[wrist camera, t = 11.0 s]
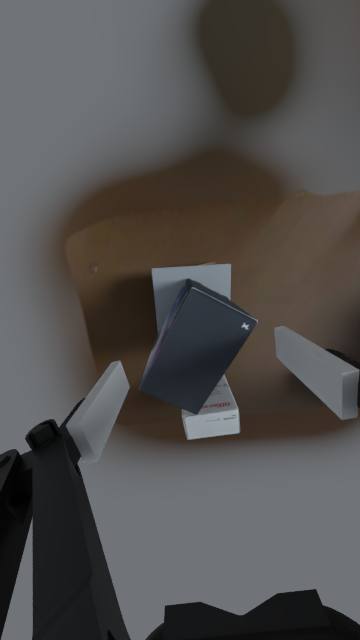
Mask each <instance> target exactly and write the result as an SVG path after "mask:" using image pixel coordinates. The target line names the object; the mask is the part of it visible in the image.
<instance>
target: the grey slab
mask: <svg viewBox="0 0 360 640" xmlns="http://www.w3.org/2000/svg"><path fill="white" fill-rule="evenodd" d="M152 277H153V288H154V298H155V309H156V319H157V330H158V333H159V331H160V329H161V327H162V325H163V323H164V321H165V319H166V317H167V315H168V313H169V311H170V309H171V308H172V306H173V304H174V302H175V300H176V298H177V296H178V294H179V292H180V290H181V289H182V287H183V285H184V284H185V282H186V280H187V279H188V278H190V279H192V280H194V281H197V282H199V283H201V284H202V285H204V286H206V287H207V288H209V289H211V290H213V291H216V292H217V293H219V294H221V295H224V296H226V297H228V299H229V300H230V286H231V264H218V265H201V266H184V267H167V268H153V269H152Z"/></svg>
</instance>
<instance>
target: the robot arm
mask: <svg viewBox="0 0 360 640" xmlns="http://www.w3.org/2000/svg"><path fill="white" fill-rule="evenodd" d="M274 332H275V342H276V352H277V358H278V359H279V360H280V361H281V362H282V363H283V364H284V365H285V366H286V367H287V368H288V369H289V370H290V371H291V372H292V373H293V374H294V375H296V376H297V377H298V378H299V379H300V380H301V381H302V382H303V383H304V384H305V385H306V386H307V387H308V388H309V389H310V390H311V391H312V392H313V393H314V394H315V395H316V396H317V397H318V398H319V399H321V400H322V401H323V402H324V403H325V404H326V405H327V406H328V407H329V408H330V409H331V410H332V411H333V412H334V413H335V414H336V415H337V416H338V417H339V418H340V419H341V420H345V419H350V418H356V417H358V407H359V408H360V363H359V362H357V361H355V360H353V359H351V358H350V357H347V356H346V355H344V354H342V353H340V352H338V351H335V350H332V349H325V350H324V349H323V348H321V347H319V346H317V345H316V344H314V343H312V342H311V341H309V340H307V339H305V338H304V337H302V336H300V335H299V334H297V333H295V332H293V331H292V330H290V329H288V328H287V327H285V326H280V327H276V328H274ZM129 388H130V386H129V383H128V381H127V378H126V375H125V372H124V369H123V367H122V364H121V361H115V362H112V363H111V364H110V365H109V367H108V368H107V369H106V371H105V372H104V374H103V375H102V376H101V378H100V379H99V380H98V382H97V383H96V385H95V386H94V387H93V389H92V390H91V391H90V393H89V394H88V395H87V397H86V398H83V399H82V400H81V401H80V402H79V403H77V405H76V406H75V407H74V409H73V411H71V413H70V414H69V416H68V417H67V418H66V419H65V421H64V422H63V423H62V424H61V426H60V427H58V426H57V424H56V422H55V420H54V419H50V420H46V421H44V422H42V423H40V424H38V425H37V426H35V427H34V428H33V429H32V430H31V431H29V433H28V434H27V435H26V438H25V439H26V441H27V443H28V444H29V446H30V448H31V449H32V450H31V451H29V452H27V453H24V454H22V455H20V454H19V452H18V451H17V450H16V449H13V450H9V451H6V452H5V453H3V454H1V455H0V640H1V636H2V632H3V628H4V624H5V621H6V617H7V613H8V609H9V605H10V601H11V598H12V593H13V590H14V586H15V582H16V578H17V574H18V570H19V567H20V563H21V558H22V555H23V551H24V547H25V543H26V540H27V535H28V532H29V528H30V524H31V520H32V516H33V637H32V640H131V639H130V637H129V635H128V632H127V629H126V627H125V624H124V621H123V618H122V614H121V611H120V607H119V604H118V600H117V597H116V593H115V590H114V587H113V583H112V579H111V576H110V572H109V569H108V566H107V562H106V559H105V555H104V552H103V548H102V545H101V541H100V538H99V534H98V531H97V527H96V524H95V520H94V517H93V513H92V510H91V506H90V503H89V500H88V496H87V493H86V489H85V486H84V482H83V478H82V475H81V472H80V468H79V466H78V464H77V463H78V461H79V459H80V457H82V459H83V461H84V463H85V464H88V463H94V462H98V460H99V458H100V456H101V453H102V451H103V449H104V446H105V444H106V442H107V439H108V437H109V435H110V432H111V430H112V428H113V425H114V423H115V421H116V418H117V416H118V414H119V411H120V409H121V407H122V404H123V402H124V400H125V397H126V395H127V393H128V390H129ZM145 640H360V625H359V624H358V623H357V622H355V621H353V620H352V619H350V618H349V617H347V616H346V615H344V614H342V613H340V612H338V611H336V610H334V609H332V608H330V607H326V606H324V605H322V603H321V600H320V598H319V595H318V593H317V591H316V589H313V590H304V591H295V592H286V593H278V594H276V595H274V596H273V597H271V598H270V599H268V600H266V601H265V602H263V603H262V604H260V605H259V606H257V607H256V608H254V609H252V610H251V611H249V612H248V613H246V614H245V615H236V614H233V613H230V612H227V611H224V610H222V609H219V608H216V607H213V606H210V605H207V604H204V603H202V602H195V603H186V604H176V605H167V606H165V616H164V623H162V624H161V625H160V626H158V627H157V628H156V629H155V630H154V631H153V632H152V633H151V634H150V635H149V636H148V637H147V638H146V639H145Z"/></svg>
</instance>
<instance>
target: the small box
mask: <svg viewBox="0 0 360 640" xmlns="http://www.w3.org/2000/svg"><path fill="white" fill-rule="evenodd" d="M257 323H258V320H257V319H256V318H254V317H252V316H251V315H249V314H248V313H247V312H245V311H244V310H243V309H241V308H240V307H239V306H237V305H236V304H235V303H233V302H232V301H231V300H229V299H228V297H226V296H224V295H221V294H219V293H217V292H216V291H213V290H211V289H209V288H207V287H206V286H204V285H202V284H201V283H199V282H197V281H194V280H192V279H190V278H188V279H187V280H186V282H185V284H184V285H183V287H182V289H181V290H180V292H179V294H178V296H177V298H176V300H175V302H174V304H173V306H172V308H171V309H170V311H169V313H168V315H167V317H166V319H165V321H164V323H163V325H162V327H161V329H160V331H159V333H158V335H157V337H156V340H155V342H154V345H153V348H152V350H151V353H150V356H149V359H148V362H147V365H146V368H145V371H144V374H143V377H142V380H141V384H140V387H139V390H140V391H142V392H144V393H146V394H148V395H151V396H153V397H155V398H158V399H160V400H162V401H165V402H167V403H169V404H172V405H174V406H176V407H179V408H181V409H183V410H186V411H188V412H191V413H193V414H195V415H197V414H198V413H199V411H200V410H201V408H202V407H203V405H204V404H205V402H206V401H207V399H208V398H209V396H210V395H211V393H212V392H213V390H214V389H215V387H216V386H217V384H218V383H219V381H220V380H221V378H222V377H223V375H224V373H225V372H226V370H227V369H228V367H229V366H230V364H231V363H232V361H233V360H234V358H235V357H236V355H237V354H238V352H239V351H240V349H241V348H242V346H243V345H244V343H245V342H246V340H247V339H248V337H249V336H250V334H251V332H252V331H253V329H254V328H255V326H256V325H257Z"/></svg>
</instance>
